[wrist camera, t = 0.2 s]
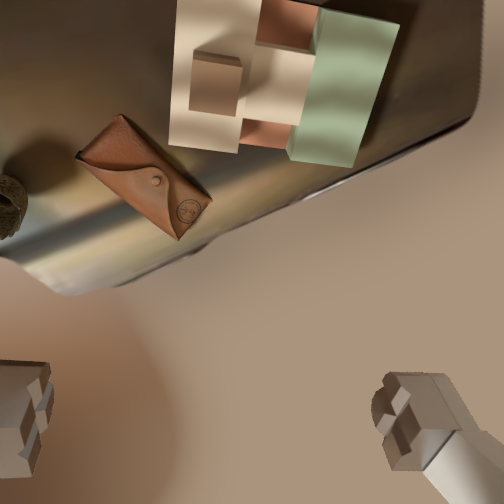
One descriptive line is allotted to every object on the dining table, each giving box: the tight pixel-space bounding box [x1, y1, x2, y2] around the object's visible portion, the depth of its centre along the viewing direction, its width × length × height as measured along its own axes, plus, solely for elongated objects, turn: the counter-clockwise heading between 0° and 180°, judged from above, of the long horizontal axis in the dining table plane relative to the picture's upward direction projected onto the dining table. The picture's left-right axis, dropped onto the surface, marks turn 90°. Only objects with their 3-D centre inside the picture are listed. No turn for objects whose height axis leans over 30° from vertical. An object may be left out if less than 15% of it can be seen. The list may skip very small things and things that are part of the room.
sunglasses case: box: [75, 115, 213, 241], centre depth 56 cm, size 18×7×7 cm
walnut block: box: [188, 50, 243, 117], centre depth 44 cm, size 5×5×5 cm
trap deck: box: [169, 0, 400, 168], centre depth 49 cm, size 17×24×4 cm
